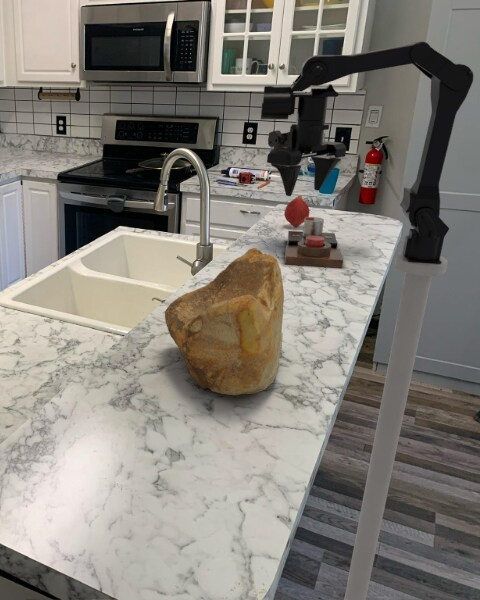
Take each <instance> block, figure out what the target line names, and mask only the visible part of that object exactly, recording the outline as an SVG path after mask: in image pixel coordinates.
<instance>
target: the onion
mask: <svg viewBox="0 0 480 600" xmlns="http://www.w3.org/2000/svg"><path fill="white" fill-rule="evenodd" d="M305 217H310V207H309V205H308V203H307V202H306V201H305V200H303V196H302V195H301V194H300V195H297V196H296V197H295V198H294V199H292V200H291V201H289V202H288V203H287V205H286V207H285V209H284V218H285V220H286V221H287V222H288V223H289V224H290V225H291V226H293V227H294V228H298V227H299V226H300V225H302V224H304V220H305Z"/></svg>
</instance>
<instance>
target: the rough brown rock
mask: <svg viewBox="0 0 480 600" xmlns="http://www.w3.org/2000/svg"><path fill="white" fill-rule="evenodd" d="M283 283H284V282H283V275H282V270H281V267H280V264H279V261H278V259H277V258H276V256H274V255H272V254H270V253H269V254H267V253H266V252H265V253H263V252H262V251H261V250H260V249H258V248H257V247H251V248H249V249H248V250H246V252H245V253H244V254H243V255H242V254H241V256H239V257H237V258H235V259H234V260H233V261H231V262H230V263H229V264H228V265H227V266H226V267H225V268H224V269H223V270H222V271H220V272H219V273H218V274H217V275H216V277H215V278H214V279H213V280H211V281H210V282H208V283H207V284H206V285H205V286H202V287H200V288H197V289H195V290H192V291H189V292H186V293H184V294H182V295H180V296H178V297H177V298H176V299H175V300H173V301H172V302H171V303H170V304H168V306H167V308H166V309H165V311H164V321H165V324H166V327H167V331H168V333H169V336H170V338H171V339H172V340H173V342H174V343H175V344H176V346H177V347H178V349H179V351H180V354H181V355H182V356H183V359H184V361H185V364H186V366H187V369H188V372H189V375H190V376H191V378H192V379H193V381H194V382H195V384H196V385H198V386H199V387H200V388H201V389H203V390H204V389H207V388H208V389H209V390H210V391H211V392H213V393H217V394H222V395H228V396H240V395H252V394H257V393H260V392H262V391H265V390H266V389H267V388H269V387H270V386H271V384H272V383H273V382H274V381H275V379H276V376H277V374H278V368H279V361H280V360H279V359H280V355H281V351H282V348H283V335H284V334H283V332H282V329H283V318H284V303H285V302H284V301H285V291H284V284H283Z"/></svg>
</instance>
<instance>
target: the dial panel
mask: <svg viewBox="0 0 480 600" xmlns="http://www.w3.org/2000/svg"><path fill="white" fill-rule="evenodd" d="M322 237H323V238H324V241H325V242H327V243H330V244H331V248H338V240H337V237H336V233H334V232H322ZM302 240H306V238H305V237H303V231H300V230H298V231H296V230H288V231H287V238H286V242H287V243H286V245H290V246H298V242H299V241H302Z"/></svg>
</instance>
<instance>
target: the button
mask: <svg viewBox="0 0 480 600" xmlns="http://www.w3.org/2000/svg"><path fill="white" fill-rule="evenodd" d="M305 245H306V246H310V247H323V246H324V238H323V237H321V236H307V237H306V242H305Z"/></svg>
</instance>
